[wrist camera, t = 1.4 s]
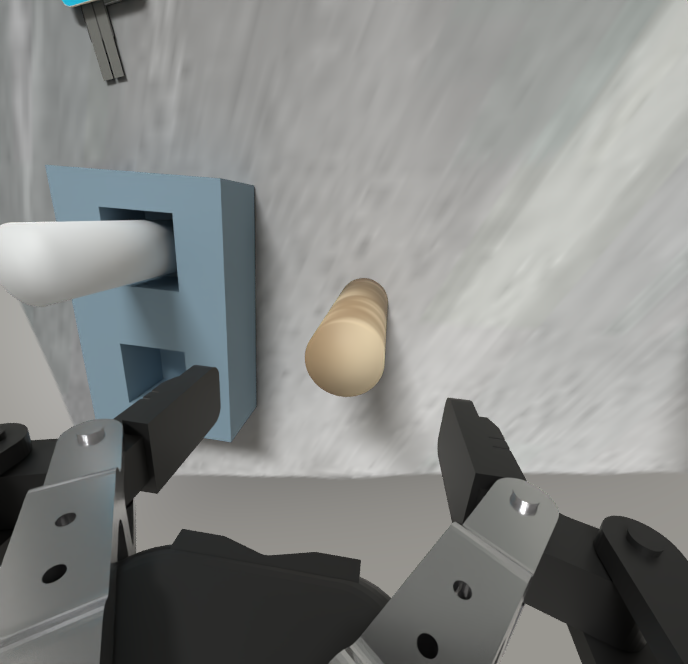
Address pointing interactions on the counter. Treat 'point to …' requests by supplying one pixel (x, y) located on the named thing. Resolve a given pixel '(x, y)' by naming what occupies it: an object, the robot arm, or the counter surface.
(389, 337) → the counter surface
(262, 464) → the counter surface
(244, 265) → the bore block
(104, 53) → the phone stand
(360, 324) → the beech pin
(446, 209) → the counter surface
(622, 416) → the counter surface
